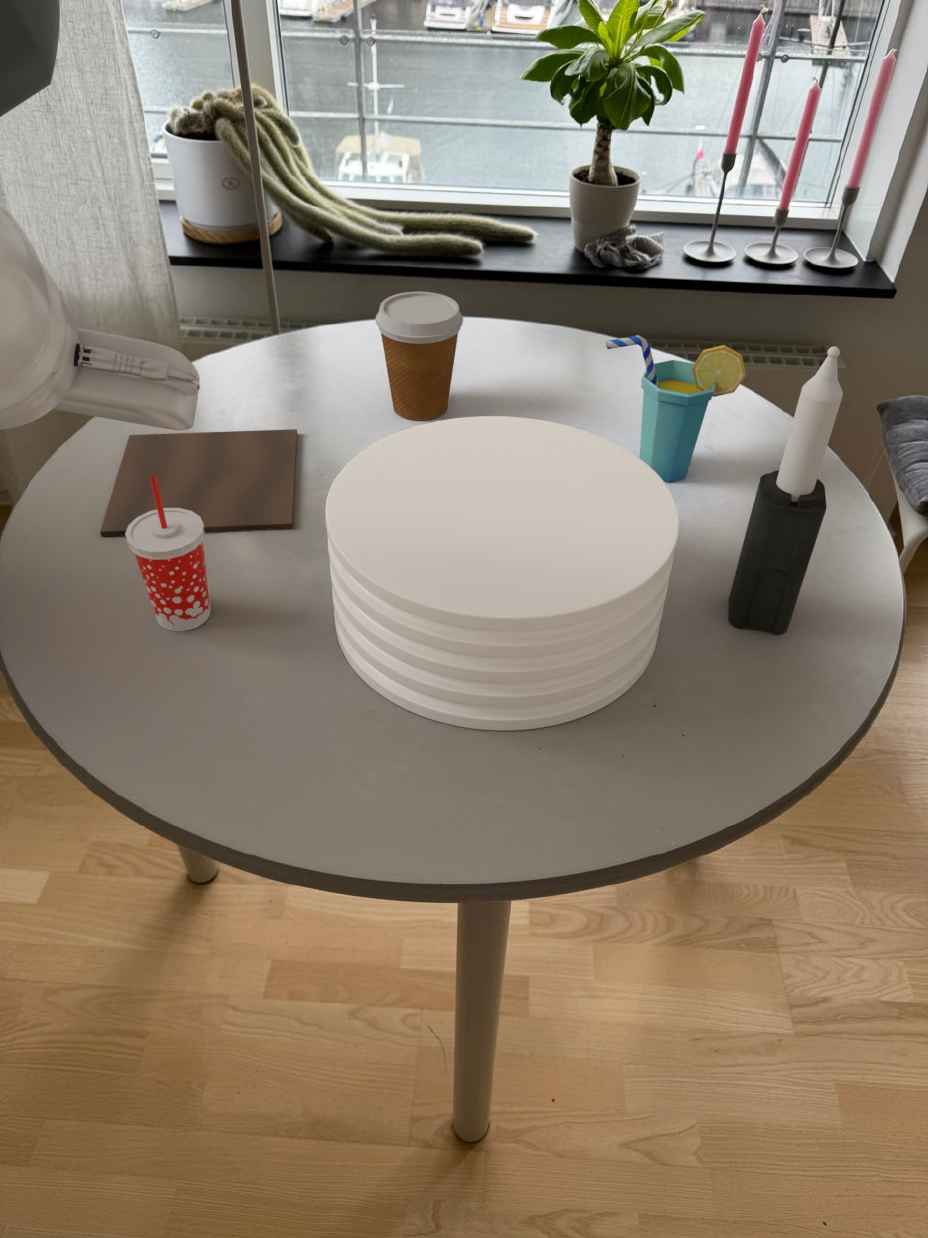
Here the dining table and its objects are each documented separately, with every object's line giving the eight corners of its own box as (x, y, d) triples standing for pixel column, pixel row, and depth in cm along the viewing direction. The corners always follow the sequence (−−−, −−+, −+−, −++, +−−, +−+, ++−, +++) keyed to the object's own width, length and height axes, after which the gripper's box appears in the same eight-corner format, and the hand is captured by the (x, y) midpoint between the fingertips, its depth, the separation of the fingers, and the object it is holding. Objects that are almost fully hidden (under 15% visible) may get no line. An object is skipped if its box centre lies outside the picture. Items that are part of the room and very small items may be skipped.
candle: (786, 600, 86) (869, 336, 70) (787, 637, 83) (875, 367, 66) (728, 591, 87) (797, 327, 71) (727, 627, 84) (799, 358, 67)
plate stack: (598, 506, 97) (611, 403, 90) (709, 703, 77) (739, 591, 69) (319, 536, 92) (309, 430, 85) (357, 755, 72) (348, 641, 64)
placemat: (101, 536, 92) (99, 531, 91) (130, 439, 105) (129, 434, 105) (292, 528, 93) (292, 523, 93) (297, 433, 107) (296, 428, 106)
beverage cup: (221, 631, 82) (195, 492, 73) (147, 642, 81) (110, 502, 71) (217, 587, 86) (192, 450, 77) (146, 596, 85) (112, 459, 76)
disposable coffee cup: (362, 408, 111) (356, 307, 103) (418, 380, 117) (416, 282, 109) (423, 437, 107) (422, 334, 99) (478, 406, 112) (481, 306, 104)
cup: (595, 489, 100) (613, 353, 90) (585, 449, 105) (600, 318, 96) (729, 488, 100) (761, 353, 90) (711, 449, 106) (739, 318, 96)
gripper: (205, 314, 50) (212, 371, 63) (-242, 225, 45) (-133, 306, 59) (189, 435, 50) (199, 466, 63) (-260, 358, 45) (-147, 409, 59)
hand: (37, 389), depth 61 cm, fingers open, 8 cm apart
